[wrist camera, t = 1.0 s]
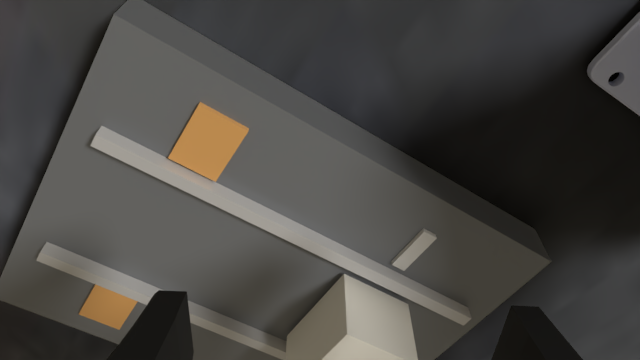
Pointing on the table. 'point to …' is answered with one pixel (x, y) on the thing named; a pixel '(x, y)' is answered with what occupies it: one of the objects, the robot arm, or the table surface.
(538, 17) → the table surface
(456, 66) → the table surface
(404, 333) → the block
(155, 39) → the panel
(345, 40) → the table surface
